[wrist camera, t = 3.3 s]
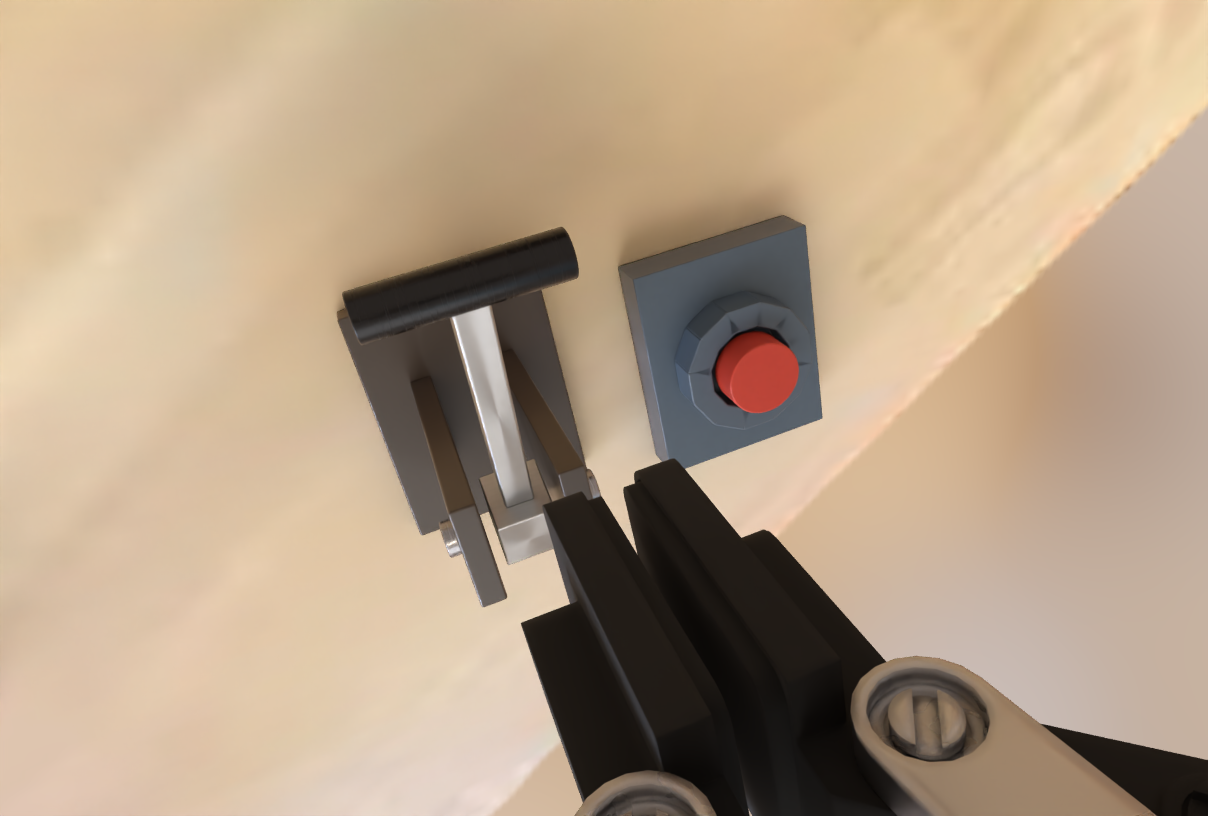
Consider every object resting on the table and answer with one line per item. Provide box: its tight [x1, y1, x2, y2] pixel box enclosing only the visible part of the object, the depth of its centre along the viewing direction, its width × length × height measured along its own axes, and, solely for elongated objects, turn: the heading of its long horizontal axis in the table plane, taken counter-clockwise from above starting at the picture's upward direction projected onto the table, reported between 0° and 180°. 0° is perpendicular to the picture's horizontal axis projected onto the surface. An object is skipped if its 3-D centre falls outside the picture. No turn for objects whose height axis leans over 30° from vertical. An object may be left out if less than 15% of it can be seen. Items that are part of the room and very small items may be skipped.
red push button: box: [715, 331, 799, 413], centre depth 41 cm, size 4×4×2 cm
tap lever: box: [342, 227, 579, 565], centre depth 27 cm, size 14×6×2 cm, turn 12°
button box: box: [618, 216, 822, 469], centre depth 43 cm, size 11×9×4 cm
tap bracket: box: [337, 290, 601, 607], centre depth 36 cm, size 12×9×13 cm
